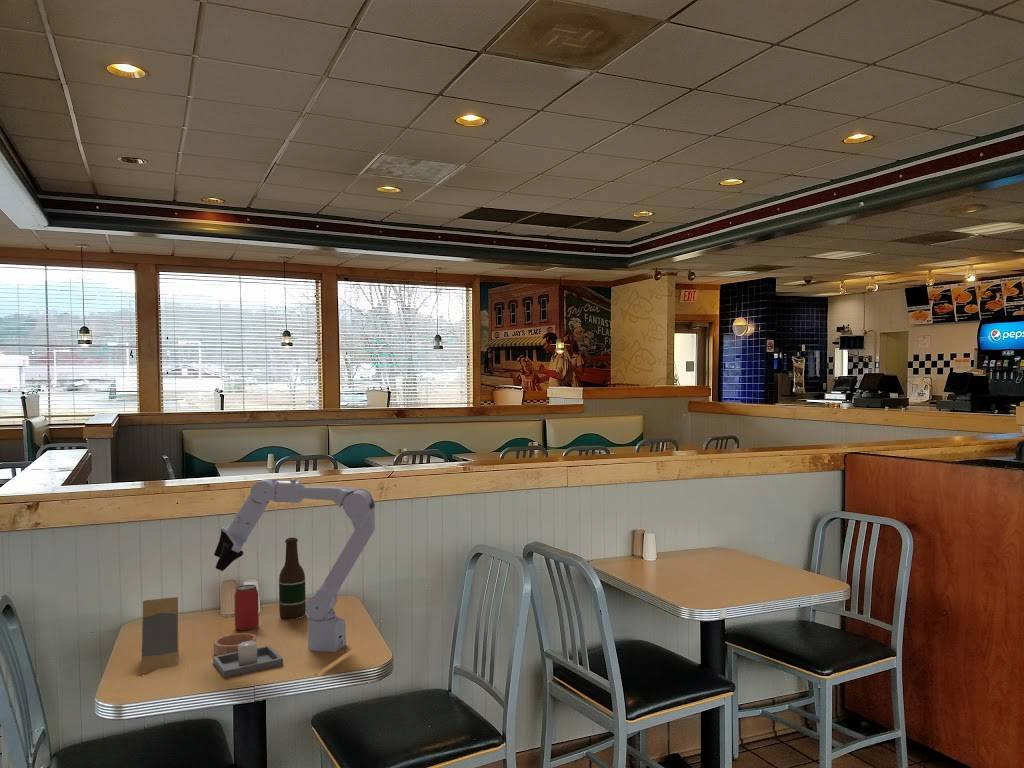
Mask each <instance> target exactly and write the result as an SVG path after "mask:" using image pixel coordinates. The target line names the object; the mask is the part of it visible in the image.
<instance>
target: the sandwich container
mask: <svg viewBox="0 0 1024 768" xmlns="http://www.w3.org/2000/svg"><path fill="white" fill-rule="evenodd" d="M141 625H142V628H141V629H142V632H141V633H142V636H141V637H142V638H141V643H142V644H141V663H140V664H141V667H140V676H141V675H145V676H147V675H149V674H150V673H153V672H155V671H157V670H159V669H168V668H171V667H177V666H178V663H179V598H178V597H177V596H176V597H167V598H166V597H165V598H156V599H155V598H154V599H148V600H147V599H146V600H145V599H144V600H143V601H142V624H141Z"/></svg>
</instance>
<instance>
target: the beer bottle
mask: <svg viewBox="0 0 1024 768" xmlns="http://www.w3.org/2000/svg"><path fill="white" fill-rule="evenodd" d="M298 541H299V540H298V538H296V537H287V538H286V539H285V541H284V542H285V558H284V559H285V560H284V561H285V562H284V566H283V567H282V569H281V570H280V573H279V576H278V598H279V599H278V605H279V606H278V609H279V618H280V617H282V618H283V619H282V618H281V619H282V620H284V619H294V620H297V619H296V618H298V619H300V618H299V617H302V616H303V617H304V616H305V615H306V610H305V606H306V603H307V601H306V600H307V599H306V598H307V597H306V573H305V571H304V568H303V567H302V565H301V564H300V561H299V554H298ZM303 617H302V618H303Z"/></svg>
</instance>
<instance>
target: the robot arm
mask: <svg viewBox="0 0 1024 768" xmlns="http://www.w3.org/2000/svg"><path fill="white" fill-rule="evenodd" d="M304 499H308V500H309V499H310V500H323V501H332V502H333V503H335V505H336V506H337V507H339V508H340V507H342V509H343V512H344V513H345V514H346V515H347V517H348V518H349V519H350V520H351V524H352V527H353V528H354V531H353V533H352V534H351V535H350V538H349V539H348V541H347V542H346V544H345V546H344V547H343V549H342V551H341V552H340V554H339V556H338V558H337V559H336V561H335V563H334V564H333V566H332V567H331V569H330V571H329V573H328V574H327V576H326V578H325V579H324V581H323V582H322V584H321V586H320V587H319V588H318V589H317V590H316V591H315V592H314V594H313V595H312V596H311V597H309V599H307V601H306V606H305V610H306V612H305V614H306V615H307V649H308V650H310V651H312V652H332V653H335V652H337V651H339V650H340V649H341V648H343V647H344V646H346V645H347V635H346V633H347V630H346V629H347V627H346V625H347V624H346V620H345V619H344V618H343V617H339V616H337V615H336V611H335V609H334V607H335V605H336V604H337V598H338V593H339V591H340V590H341V588H342V585H343V584H344V582H345V581H346V579H347V578H348V576H349V574H350V573H351V570H352V569H353V567H354V566H355V564H356V562H357V560H358V559H359V557H360V555H361V554H362V552H363V550H364V549H365V547H366V545H367V544H368V542H369V540H370V538H371V537H372V535H373V534H374V532H375V529H376V517H375V514H376V513H375V509H376V503H375V500H374V498H373V495H372V494H371V492H369V490H367V489H365V488H356V487H349V486H310V485H309V486H306V485H305V484H304V483H303V482H301V481H299V480H297V478H291V479H290V480H278V478H272V479H271V478H270V479H269V478H268V479H263V480H260V481H257V482H255V483H254V484H253V485H251V487H250V492H249V495H248V497H247V498H246V499H245V500H244V502H243V503H242V505H241V506H240V508H239V510H238V512H237V513H236V515H235V516H234V517H233V519H232V521H231V522H230V524H229V525H228V526H227V527H226V526H223V527H222V528H221V529H220V536H219V540H218V543H217V546H216V548H215V551H214V554H213V555H214V556H215V557H217V558H218V560H217V562H216V565H215V569H216V570H219V571H222V572H224V571H225V570H226V569H227V568H228V567H229V566H231V564H232V563H233V562H234V561H236V560H237V559H239V558H240V557H242V556H243V555H244V551H243V550H242V548H244V547H243V546H244V545H245V543H246V542H247V540H248V537H250V534H251V533H252V531H253V530H254V528H255V527H256V525H257V523H259V520H260V519H261V517H262V516H263V514H264V512H265V511H266V508H267V507H268V506H269V503H270V501H272V502H275V503H289V504H290V503H292V504H299V503H300V502H302V501H303V500H304Z"/></svg>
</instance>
